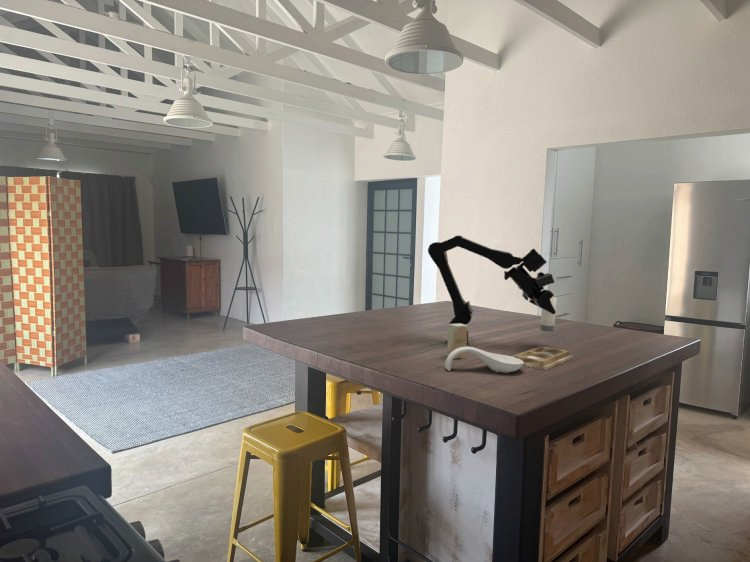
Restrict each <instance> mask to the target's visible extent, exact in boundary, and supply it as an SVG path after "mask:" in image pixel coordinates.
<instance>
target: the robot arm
mask: <svg viewBox="0 0 750 562" xmlns="http://www.w3.org/2000/svg"><path fill="white" fill-rule="evenodd" d="M457 247H458V248H460V249H463V250H466V251H469V252H471V253H472V254H473V253H474V254H476V255H478V256H480V257H483V258H485V259H488V260H489V261H491V262H492V263H494V264H495V265H496V266H499V268H502V269H504V270H507V269H508V271H504V272H503V274H504V275H503V278H504V280H505V281H507V280H508V279H509V278H510V279H511V280H512V281H513V282H514V284H516V285H517V288H518V289H519V290H521V291H522V293H521V295H522V297H523V298H524V300H525V301H528V302H529V303H530V304H532V305H534V306H536V307H538V308H540V309H541V310H542V309H544V310H546V311H548V312H550V313H552V314H555V315H556V314H557V313H556V312H557V311H556V312H555V310H554V308H553V306H552V304H551V301H550V299H551V298H552V297H555V296H554V295H555V294H554V293H553V292H552V291H551V290H549V289H545V286H548V285H551V284H554V283H555V279H554V276H553V275H552V273H548V272H546V273H544V272H543V271H541V272H538V273H537V275H536V277H532V275H531V274H530V273H531V272H534V273H536V272H537V271H538V270H539V269H540V268H542V267H544V265H546V264H547V263H548V262H547V261H546V259H545V258H544V257H543V256H542V255H541V254H540V253H539V252H538V251H537V250H536V248H532V249H531V250H530V251H529V252H528V253H527V254H525V255H524V256H523V257H520V256H519V257H518V256H514V255H513V254H512V253H511V252H509V251H505V250H499V249H493V248H490V247H487V246H486V245H482V244H480V243H478V242H476V241H473V240H470V239H468V238H466V237H464V236H462V235H460V234H459V235H454V237H452V238H449V239H447V240H444V241H442V242H439V241H435V242H432V243H431V244H429V246H428V248H427V253H428V255H429V257H430V258H431V260H432V261H433V263H434V264H435V266H437V268H438V271H439V272H440V275H441V278H442V279H443V283H444V285H445V287H446V289H447V290H446V291H447V292H448V294H449V296H450V299H451V302H452V307H453V315H454V317H453V318H452V319H451V320H450V321H449V323H448V325H449V324H459V323H461V324H464V325H468V324H469V323H470V322H471V320H472V318H473V312H474V310H473V308H472V306H471V303H470V300H468V301H466V300H465V299H464V298H463V296H462V293H461V291H460V289H459V285H458V283H457V281H456V279H455V276H454V274H453V272H452V269H451V267H450V264H449V259H448V258H449V257H448V254H447V252H448V251H451V250H452V249H455V248H457ZM515 266H516V267H515ZM526 269H527V270H528V271H529V272H528V271H527V270H526ZM445 341H446V343H448V339H446V340H445ZM467 344H470V343H469V331H468V330H467Z"/></svg>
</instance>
